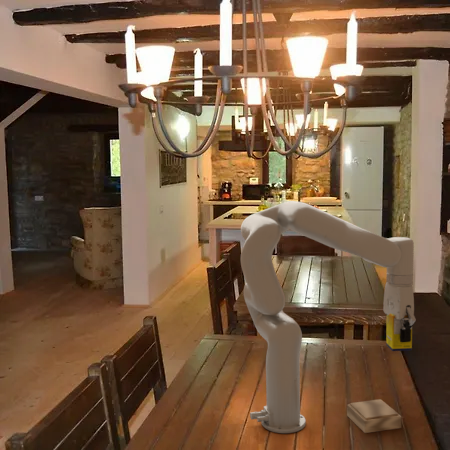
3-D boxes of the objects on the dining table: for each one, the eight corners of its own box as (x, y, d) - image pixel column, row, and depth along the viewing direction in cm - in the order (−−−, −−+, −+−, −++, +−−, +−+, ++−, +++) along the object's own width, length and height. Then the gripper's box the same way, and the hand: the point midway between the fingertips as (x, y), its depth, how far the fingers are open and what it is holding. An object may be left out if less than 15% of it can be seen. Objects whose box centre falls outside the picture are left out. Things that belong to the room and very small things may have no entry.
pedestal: (364, 433, 153) (364, 419, 153) (347, 415, 164) (347, 402, 164) (401, 427, 156) (401, 414, 155) (381, 411, 167) (381, 398, 166)
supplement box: (404, 344, 170) (405, 309, 169) (412, 351, 164) (412, 314, 163) (385, 345, 170) (386, 309, 169) (392, 351, 164) (392, 315, 163)
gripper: (373, 274, 173) (373, 330, 175) (404, 286, 156) (402, 348, 158) (395, 272, 174) (394, 328, 176) (428, 284, 157) (426, 346, 159)
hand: (398, 337), depth 167 cm, fingers closed on supplement box, 6 cm apart
